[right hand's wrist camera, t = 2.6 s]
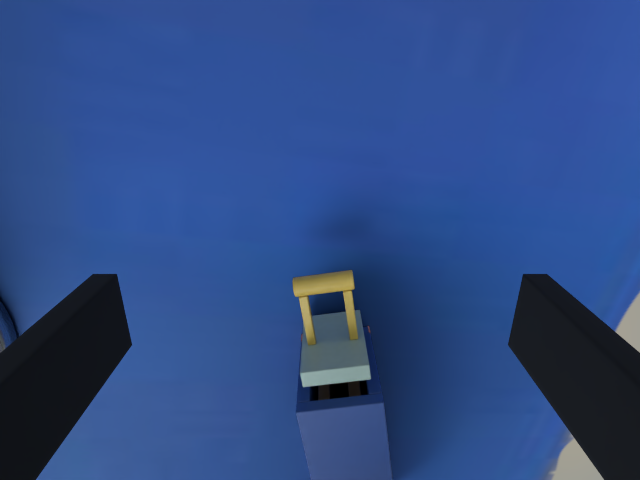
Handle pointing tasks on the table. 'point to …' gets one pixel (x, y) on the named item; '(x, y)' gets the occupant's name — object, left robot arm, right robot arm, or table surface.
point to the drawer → (332, 339)
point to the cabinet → (346, 430)
